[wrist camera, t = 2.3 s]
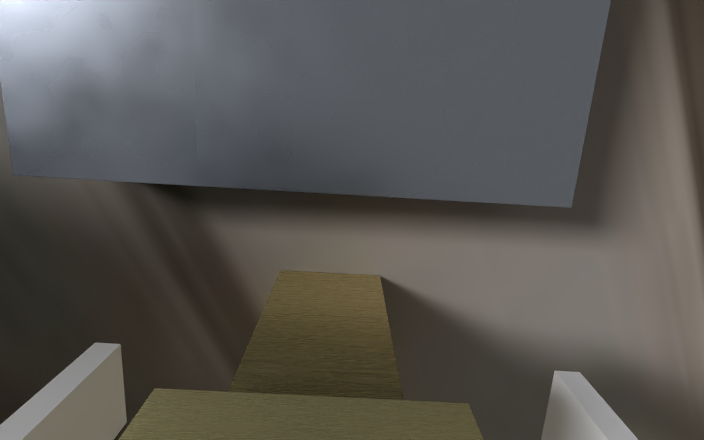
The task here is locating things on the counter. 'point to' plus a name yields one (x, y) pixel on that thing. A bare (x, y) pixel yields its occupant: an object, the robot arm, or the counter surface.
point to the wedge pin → (309, 376)
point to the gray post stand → (306, 94)
